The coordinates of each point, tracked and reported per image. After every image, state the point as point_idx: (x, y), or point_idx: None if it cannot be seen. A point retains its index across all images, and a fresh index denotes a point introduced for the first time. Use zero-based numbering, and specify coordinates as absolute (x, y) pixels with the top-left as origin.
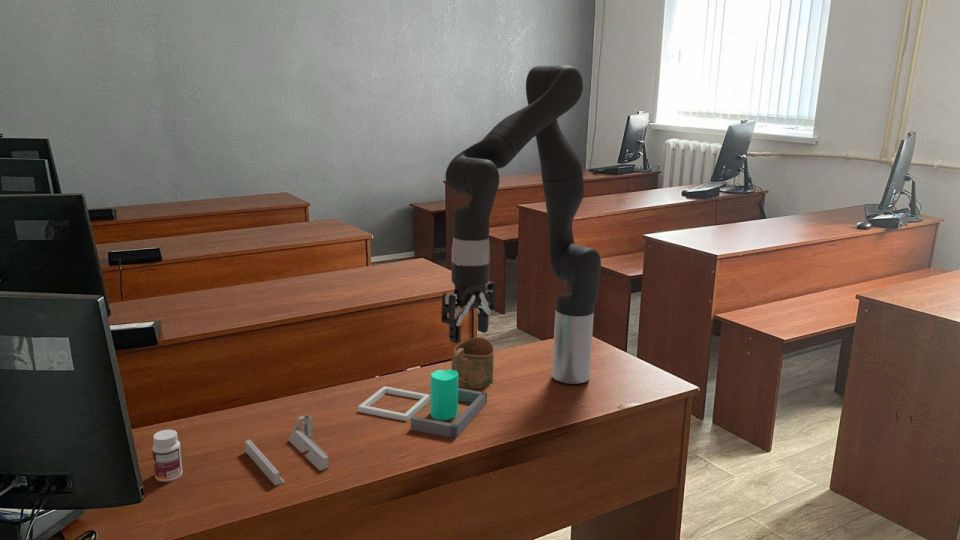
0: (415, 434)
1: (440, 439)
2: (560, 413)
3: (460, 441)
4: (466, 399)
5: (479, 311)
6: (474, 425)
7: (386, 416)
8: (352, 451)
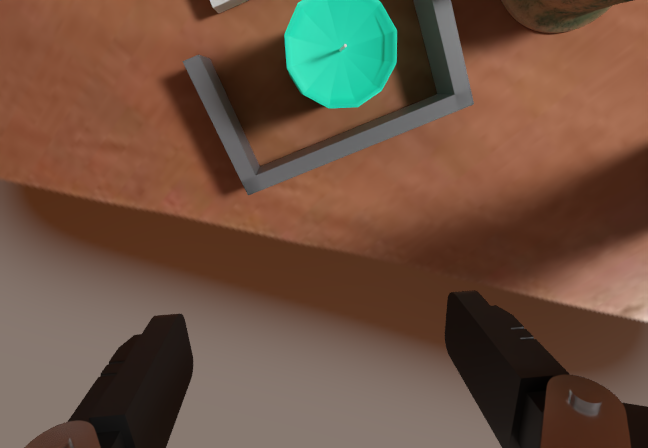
0: None
1: None
2: (530, 250)
3: None
4: (433, 50)
5: (540, 416)
6: None
7: None
8: (3, 25)
